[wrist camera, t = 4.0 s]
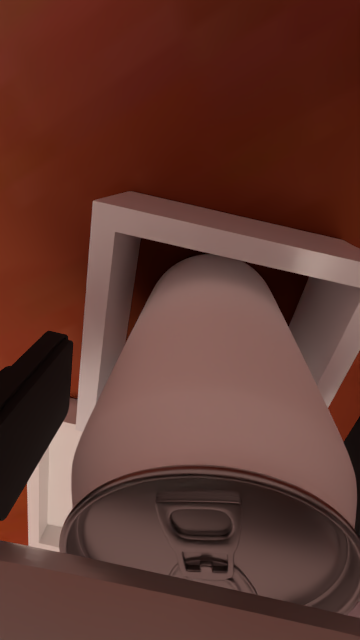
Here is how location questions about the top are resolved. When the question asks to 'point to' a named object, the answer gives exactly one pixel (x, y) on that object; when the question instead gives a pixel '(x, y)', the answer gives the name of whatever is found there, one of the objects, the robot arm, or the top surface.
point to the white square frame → (228, 241)
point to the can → (217, 450)
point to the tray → (53, 485)
